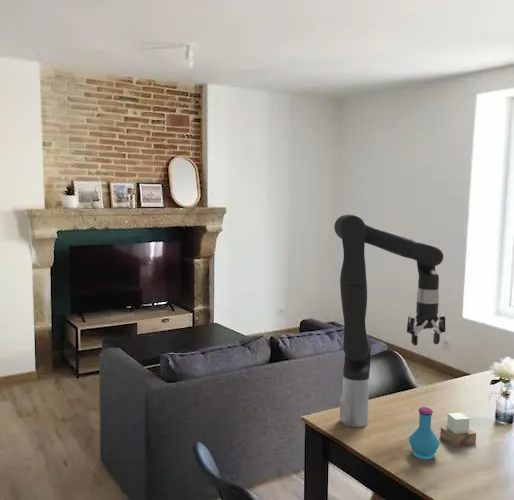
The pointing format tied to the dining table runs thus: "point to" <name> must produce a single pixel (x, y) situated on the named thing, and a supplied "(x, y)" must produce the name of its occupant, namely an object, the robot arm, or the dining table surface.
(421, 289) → the robot arm
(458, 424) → the sage cube
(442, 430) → the brown wooden block
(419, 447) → the perfume bottle
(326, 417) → the dining table surface
